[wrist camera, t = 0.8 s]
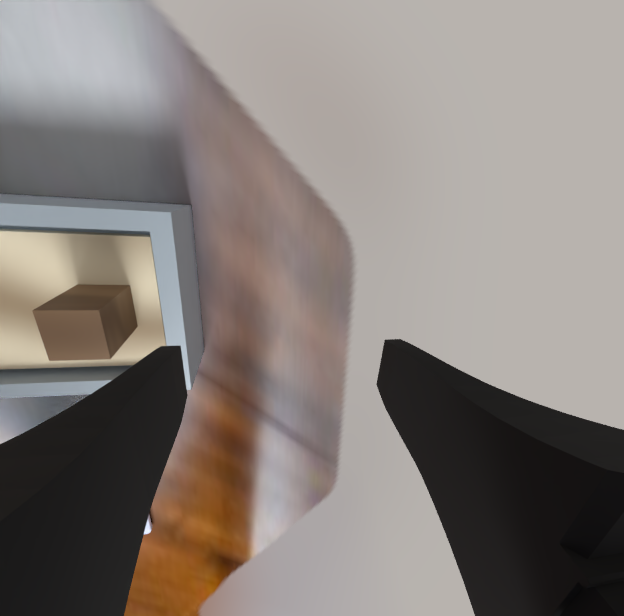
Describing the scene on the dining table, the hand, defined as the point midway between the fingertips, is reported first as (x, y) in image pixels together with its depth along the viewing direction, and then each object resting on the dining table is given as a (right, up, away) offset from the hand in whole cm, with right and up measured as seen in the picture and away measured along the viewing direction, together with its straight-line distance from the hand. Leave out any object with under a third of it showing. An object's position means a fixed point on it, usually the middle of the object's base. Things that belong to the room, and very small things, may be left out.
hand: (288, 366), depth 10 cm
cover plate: (-15, +2, +4) cm, 16 cm away
